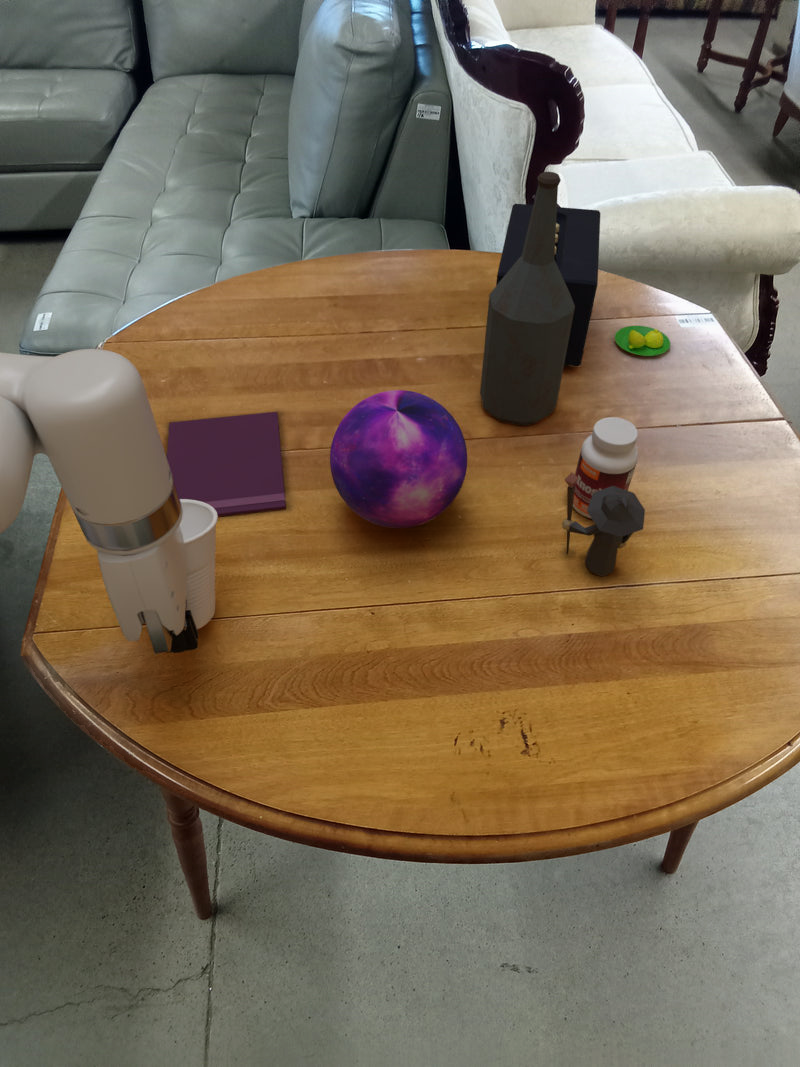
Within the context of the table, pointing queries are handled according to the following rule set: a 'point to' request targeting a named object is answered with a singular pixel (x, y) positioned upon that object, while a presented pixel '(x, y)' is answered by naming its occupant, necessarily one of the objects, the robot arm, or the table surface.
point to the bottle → (528, 323)
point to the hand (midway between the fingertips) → (181, 644)
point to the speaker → (564, 263)
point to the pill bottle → (605, 460)
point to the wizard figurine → (605, 524)
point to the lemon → (642, 340)
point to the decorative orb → (398, 459)
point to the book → (228, 462)
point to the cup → (199, 558)
